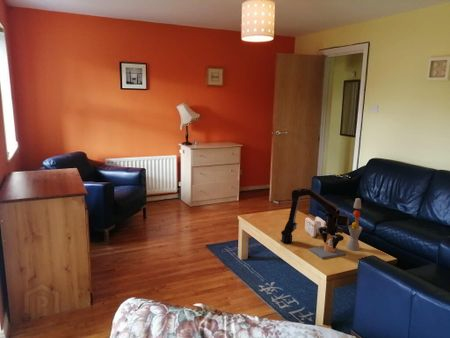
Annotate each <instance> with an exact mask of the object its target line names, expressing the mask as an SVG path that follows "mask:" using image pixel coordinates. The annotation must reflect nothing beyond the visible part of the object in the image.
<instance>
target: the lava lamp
mask: <svg viewBox="0 0 450 338" xmlns="http://www.w3.org/2000/svg"><path fill="white" fill-rule="evenodd" d="M353 209H356V210H354V211H353V216H354V220H355V221H354V222H352V224H350V225H348V230H349V235H350V238H349V240H348V243H347V245H346V249H348V250H350V251H354V252H359V251H360V250H361V246H360V243H359V236H360V234H361V232H362V230H363V227H362V226H360V225H359V220H360V215H361V212H360V210H359V209H362V201H361V198H359V197H358V198H357V197H356V198H355V201H354V203H353Z"/></svg>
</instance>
